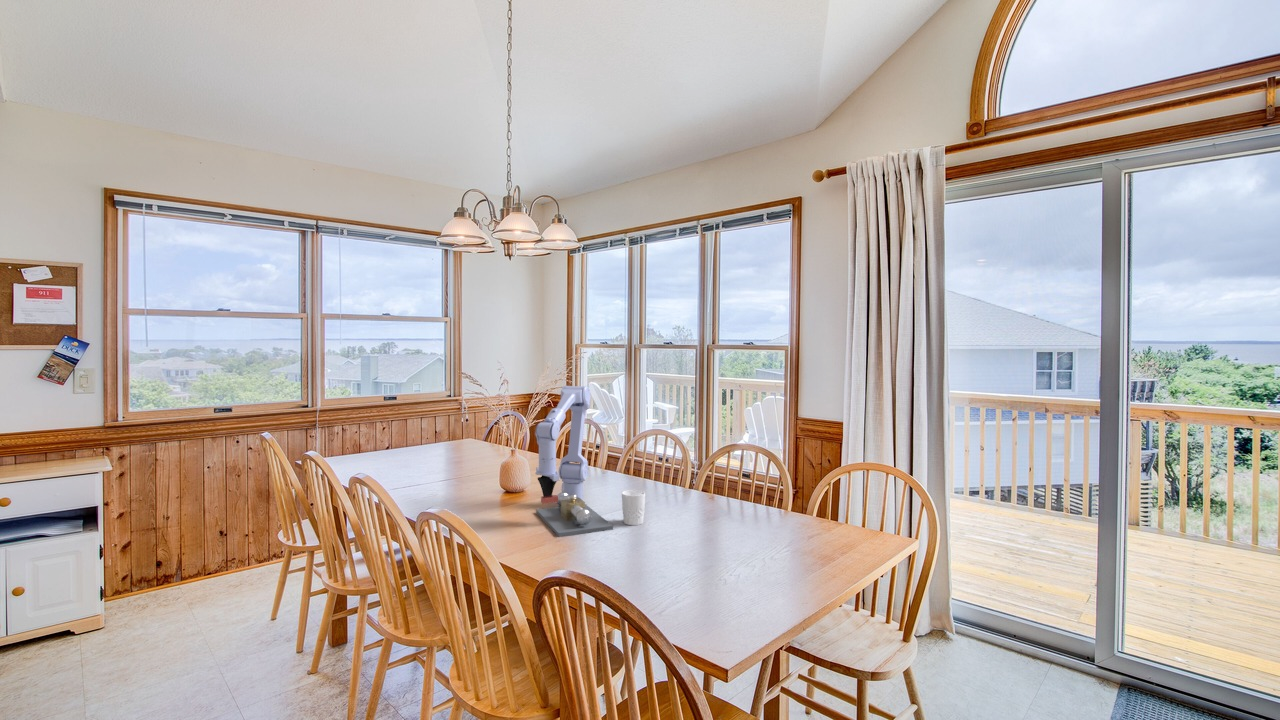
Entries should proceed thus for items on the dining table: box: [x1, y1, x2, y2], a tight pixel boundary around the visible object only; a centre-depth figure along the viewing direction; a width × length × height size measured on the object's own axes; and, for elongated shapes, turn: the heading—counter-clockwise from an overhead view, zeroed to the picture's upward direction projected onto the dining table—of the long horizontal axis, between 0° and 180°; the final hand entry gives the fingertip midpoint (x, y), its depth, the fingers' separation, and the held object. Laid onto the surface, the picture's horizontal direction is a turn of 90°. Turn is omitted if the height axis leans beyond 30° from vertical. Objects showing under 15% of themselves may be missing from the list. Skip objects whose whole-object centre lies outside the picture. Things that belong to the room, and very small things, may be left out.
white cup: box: [621, 489, 646, 526], centre depth 193 cm, size 8×8×10 cm
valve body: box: [555, 491, 592, 526], centre depth 194 cm, size 25×6×6 cm, turn 24°
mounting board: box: [535, 503, 614, 538], centre depth 195 cm, size 28×18×1 cm, turn 24°
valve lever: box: [540, 494, 577, 504], centre depth 192 cm, size 12×3×2 cm, turn 114°
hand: (547, 498), depth 193 cm, fingers closed
